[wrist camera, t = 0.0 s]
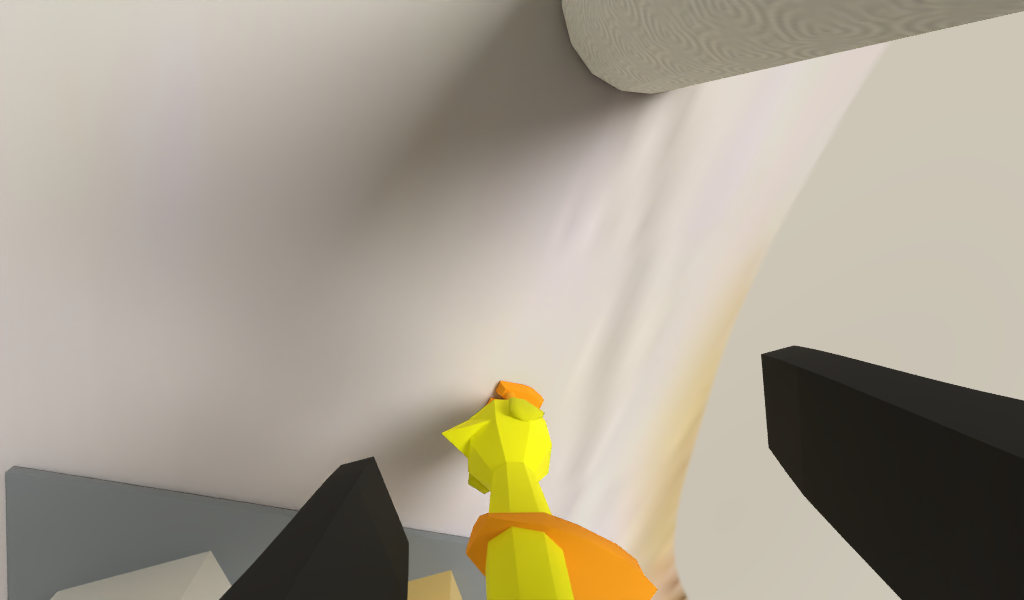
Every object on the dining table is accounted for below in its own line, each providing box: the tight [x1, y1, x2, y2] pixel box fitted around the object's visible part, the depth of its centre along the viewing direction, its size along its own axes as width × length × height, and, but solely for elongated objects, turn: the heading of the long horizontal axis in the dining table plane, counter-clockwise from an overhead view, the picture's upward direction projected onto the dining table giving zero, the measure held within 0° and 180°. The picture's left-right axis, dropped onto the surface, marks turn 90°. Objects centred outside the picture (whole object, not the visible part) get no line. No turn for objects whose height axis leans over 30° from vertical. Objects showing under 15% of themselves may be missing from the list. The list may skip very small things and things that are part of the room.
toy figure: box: [442, 381, 658, 600], centre depth 16 cm, size 7×4×12 cm, turn 62°
